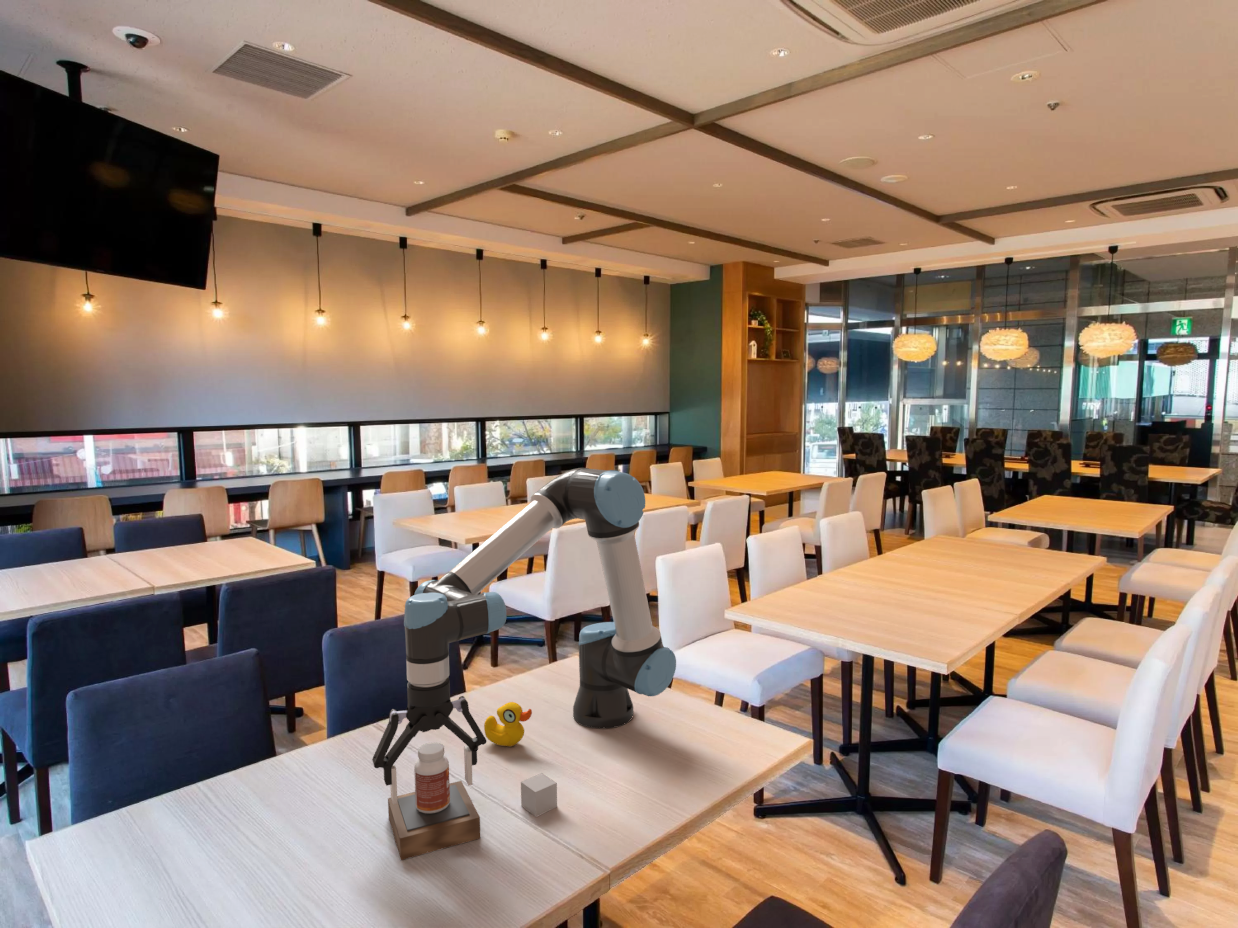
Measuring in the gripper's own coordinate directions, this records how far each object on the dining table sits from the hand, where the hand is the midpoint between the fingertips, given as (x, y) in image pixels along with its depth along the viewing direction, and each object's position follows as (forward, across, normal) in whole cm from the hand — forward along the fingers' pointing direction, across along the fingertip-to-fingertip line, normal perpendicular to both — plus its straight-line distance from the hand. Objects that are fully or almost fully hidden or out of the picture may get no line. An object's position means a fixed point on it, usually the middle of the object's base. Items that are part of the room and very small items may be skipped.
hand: (432, 790), depth 133 cm
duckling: (+8, -22, -25) cm, 34 cm away
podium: (+7, 0, 0) cm, 7 cm away
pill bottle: (+3, 0, 0) cm, 3 cm away
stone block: (+7, -20, +2) cm, 21 cm away
